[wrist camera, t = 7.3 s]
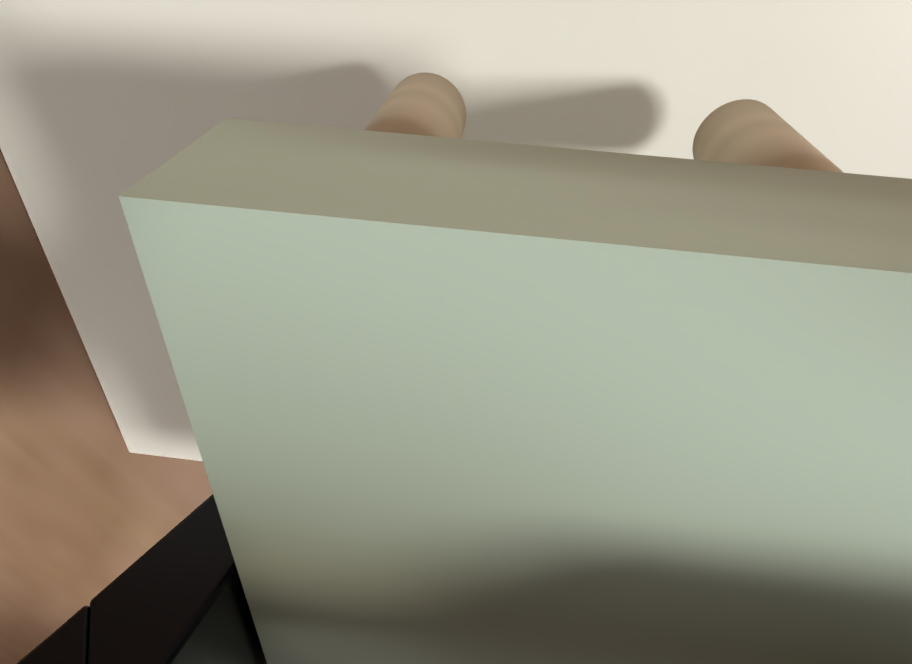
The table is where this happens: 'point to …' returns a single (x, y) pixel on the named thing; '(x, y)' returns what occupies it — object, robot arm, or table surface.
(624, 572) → the stool
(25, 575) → the table surface
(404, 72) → the white rectangular board
